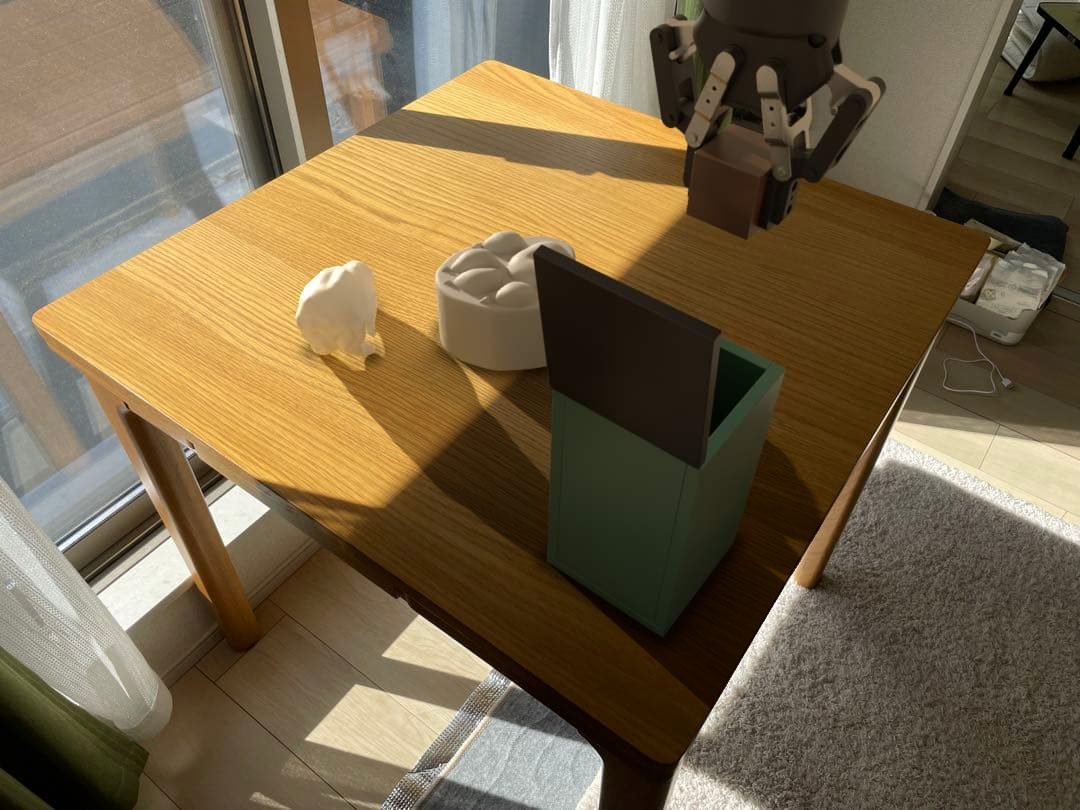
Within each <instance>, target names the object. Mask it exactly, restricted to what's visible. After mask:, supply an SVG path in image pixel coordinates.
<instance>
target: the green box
mask: <svg viewBox="0 0 1080 810" xmlns="http://www.w3.org/2000/svg"><path fill="white" fill-rule="evenodd" d="M786 371H787V368H786V367H785V366H783V365H781V364H778V363H776V362H774V361H772V360H770V359H768V358H766V357H764V356H762V355H760V354H758V353H756V352H754V351H751V350H750V349H747V348H746V347H743V346H741V345H739V344H737V343H735V342H733V341H731V340H729V339H726V338H725V337H722V336H721V343H720V351H719V359H718V367H717V375H716V383H715V391H714V398H713V406H712V414H711V422H710V430H709V438H708V446H707V454H706V461H705V462H704V464H703V465H702V466H701V468H700V469H699V470H697V469H695V468H694V467H692V466H690V465H688V464H686V463H685V462H683V461H681V460H679V459H677V458H676V457H674V456H672V455H670V454H668V453H667V452H665V451H663V450H661V449H660V448H658V447H656V446H654V445H652V444H651V443H649V442H647V441H645V440H643V439H642V438H640V437H638V436H636V435H634V434H633V433H631V432H629V431H627V430H626V429H624V428H622V427H620V426H618V425H617V424H615V423H613V422H611V421H609V420H608V419H606V418H604V417H602V416H600V415H599V414H597V413H595V412H593V411H591V410H590V409H588V408H586V407H584V406H583V405H581V404H579V403H577V402H575V401H574V400H572V399H570V398H568V397H566V396H565V395H563V394H561V393H559V392H557V391H556V390H554V389H552V404H551V433H550V434H551V435H550V436H551V437H550V462H549V463H550V464H549V468H550V469H549V491H548V492H549V493H548V494H549V495H548V496H549V497H548V523H547V524H548V525H547V526H548V527H547V553H546V555H547V559H546V561H547V563H548V564H550V565H551V566H553V567H555V568H556V569H557V570H558V571H561V572H562V573H563V574H565V575H566V576H568V577H570V578H571V579H573V580H574V581H576V582H577V583H579V584H581V585H582V586H583V587H585V588H587V590H589V591H590V592H593V593H594V594H596V595H597V596H598V597H600V598H602V599H603V600H604V601H606V602H608V603H609V604H610V605H612V606H614V607H615V608H616V609H618V610H620V611H621V612H623V613H624V614H626V615H628V616H629V617H630V618H632V619H634V620H635V621H636V622H638V623H639V624H641V625H642V626H644V627H646V628H647V629H649V630H650V631H652V632H653V633H654V634H656V635H658V636H659V637H661V638H664V637H665V635H666V634H667V633H668V632H669V630H670V629H671V628H672V626H673V625H674V623H675V622H676V621H677V619H678V618H679V617H680V615H681V614H682V613H683V611H684V610H685V609H686V607H687V606H688V605H689V603H690V602H691V601H692V599H693V598H694V596H695V595H696V594H697V593H698V591H699V590H700V589H701V587H702V586H703V585H704V583H705V582H706V580H707V579H708V578H709V576H710V575H711V574H712V573H713V571H714V570H715V568H716V567H717V566H718V565H719V563H720V562H721V560H722V559H723V557H724V556H726V554H727V552H728V551H729V549H730V548H731V547H732V546H733V544H734V543H735V539H736V537H737V533H738V529H739V526H740V524H741V521H742V516H743V515H744V510H745V508H746V503H747V500H748V498H749V497H748V496H749V494H750V491H751V487H752V484H753V480H754V477H755V475H756V470H757V467H758V463H759V460H760V457H761V455H762V450H763V448H764V444H765V440H766V437H767V434H768V430H769V427H770V424H771V421H772V417H773V414H774V411H775V408H776V404H777V400H778V397H779V394H780V391H781V388H782V384H783V381H784V378H785V374H786Z"/></svg>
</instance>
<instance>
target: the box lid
mask: <svg viewBox="0 0 1080 810" xmlns="http://www.w3.org/2000/svg"><path fill="white" fill-rule="evenodd" d="M533 260H534V268H535V276H536V284H537V292H538V300H539V308H540V316H541V324H542V332H543V340H544V348H545V356H546V364H547V366H546V372H547V379H548V380H547V381H548V386H549V388H550V389H552V390H553V389H554V390H556V391H557V392H559V393H561V394H563V395H565V396H566V397H568V398H570V399H572V400H574V401H575V402H577V403H579V404H581V405H583V406H584V407H586V408H588V409H590V410H591V411H593V412H595V413H597V414H599V415H600V416H602V417H604V418H606V419H608V420H609V421H611V422H613V423H615V424H617V425H618V426H620V427H622V428H624V429H626V430H627V431H629V432H631V433H633V434H634V435H636V436H638V437H640V438H642V439H643V440H645V441H647V442H649V443H651V444H652V445H654V446H656V447H658V448H660V449H661V450H663V451H665V452H667V453H668V454H670V455H672V456H674V457H676V458H677V459H679V460H681V461H683V462H685V463H686V464H688V465H690V466H692V467H694V468H695V469H697V470H699V469H700V468H701V466H702V465H703V464H704V462H705V461H706V454H707V446H708V438H709V430H710V422H711V414H712V406H713V398H714V391H715V383H716V375H717V367H718V359H719V351H720V343H721V337H722V334H723V331H722V329H721V328H718V327H716V326H713V325H712V324H710V323H707V322H705V321H703V320H701V319H700V318H698V317H695V316H693V315H691V314H689V313H686V312H684V311H683V310H680V309H678V308H676V307H674V306H673V305H670V304H669V303H668V304H667V303H665V302H663V301H661V300H659V299H657V298H656V297H654V296H651V295H649V294H647V293H645V292H643V291H641V290H638V289H637V288H634V287H632V286H630V285H628V284H626V283H624V282H622V281H620V280H618V279H616V278H614V277H611V276H609V275H608V274H605V273H603V272H601V271H599V270H596V269H595V268H593V267H591V266H589V265H586V264H585V263H583V262H580V261H579V260H577V259H576V260H574V259H572V258H570V257H568V256H566V255H563V254H561V253H559V252H557V251H555V250H553V249H551V248H549V247H547V246H545V245H540V246H539V247H538V248H537V249H536V250H535V251H534V252H533Z"/></svg>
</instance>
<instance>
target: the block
mask: <svg viewBox="0 0 1080 810" xmlns="http://www.w3.org/2000/svg"><path fill="white" fill-rule="evenodd" d="M771 174H772V167H771V156H770V146H769V144H768V143H766V142H765V139H764V134H762V133H760V132H757V131H754V130H752V129H748V128H746V127H743V126H740V125H737V124H735V123H730V125H728V126H727V127H726V128H724V129H723V130H721V131H719V132H718V133H717V136H715V137H714V138H713V139H711V140H710V141H709V142H708V143H706V144H705V145H704V146H703V147H701V148H700V149H699V150H697V151H696V152H695V155H694V162H693V169H692V176H691V183H690V190H689V196H688V195H687V198H688V199H687V203H686V210H685V214H686V215H687V216H689V217H692V218H694V219H696V220H699V221H700V222H703V223H705V224H708V225H710V226H713V227H715V228H717V229H719V230H722V231H724V232H727V233H728V234H730V235H733V236H735V237H738V238H741V239H743V240H745V241H748V240H749V239H750V238H751V237H752V236H753V235H754V234H755V233H756V232H757V231H758V230H760V229H761V228H760V227H758V226H757V224H758V219H759V214H760V210H761V205H762V201H763V196H764V191H765V187H766V182H767V177H768V176H770V175H771Z"/></svg>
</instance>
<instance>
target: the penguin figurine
mask: <svg viewBox="0 0 1080 810" xmlns="http://www.w3.org/2000/svg"><path fill="white" fill-rule="evenodd" d="M375 277H376V276H375V274H374V272H373V270H372V268H370V266H369V265H367V264H365V263H364V262H363V261H360V260H351V261H348V262H347V263H346V264H344V265H338V266H337V265H336V266H332V267H326V268H324V269H323V270H322V271H320V272H319V273H318V274H317V275H315V276H314V278H312V280H310V281H309V282H308V283H307V284H306V285H305V286H304V288H303V290H302V293H301V294H300V296H299V300H298V308H297V311H296V313H295V317H294V319H295V323H296V326H297V328H298V329H299V332H300V334H301V336H302V338H303V339H304V340H305V341H306V342H307V343H308V344H309V346H310V348H311V349H312V351H313V352H314V353H315V354H317V355H320V356H328V355H331V354H332V353H334V352H336V351H337V350H338V349H340V350H341V351H342V352H344V353H345V354H348V355H349V356H353V357H355V358H362V357H363V358H364V357H367V356H371V355H372V354H374V353H375V352H376V349H377V348H376V346H375V344H373V343H372V342H368V341H365V340H366V336H367V334H368V336H370V337H371V338H373V337H376V316H377V311H378V300H379V298H377V296H380V295H382V294H381V293H382V291H379V289H376V290H375V286H376V278H375Z"/></svg>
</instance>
